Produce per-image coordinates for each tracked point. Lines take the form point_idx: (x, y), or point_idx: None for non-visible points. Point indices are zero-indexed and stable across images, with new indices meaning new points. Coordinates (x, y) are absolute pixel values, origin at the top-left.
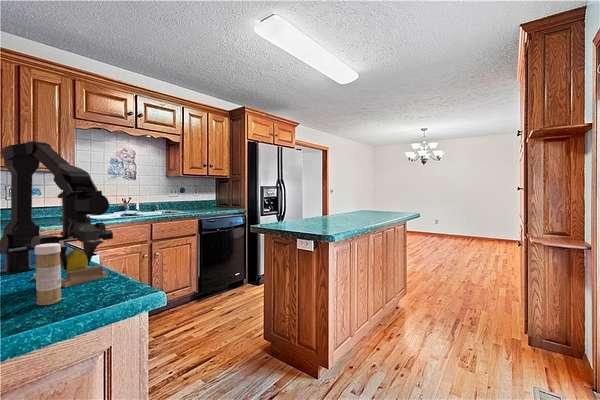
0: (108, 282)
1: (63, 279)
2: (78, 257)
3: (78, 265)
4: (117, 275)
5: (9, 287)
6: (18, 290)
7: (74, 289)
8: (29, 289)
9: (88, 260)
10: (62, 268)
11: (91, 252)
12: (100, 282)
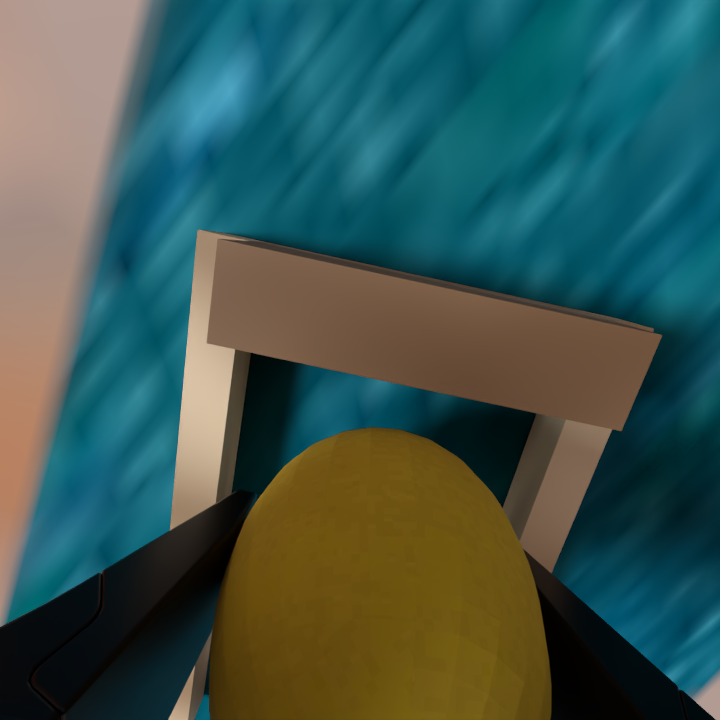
0: (384, 2)
1: (574, 429)
2: (456, 569)
3: (450, 460)
4: (137, 168)
5: None
6: (716, 602)
7: (668, 163)
8: (688, 554)
9: (228, 523)
10: None
11: (109, 610)
12: (405, 110)
